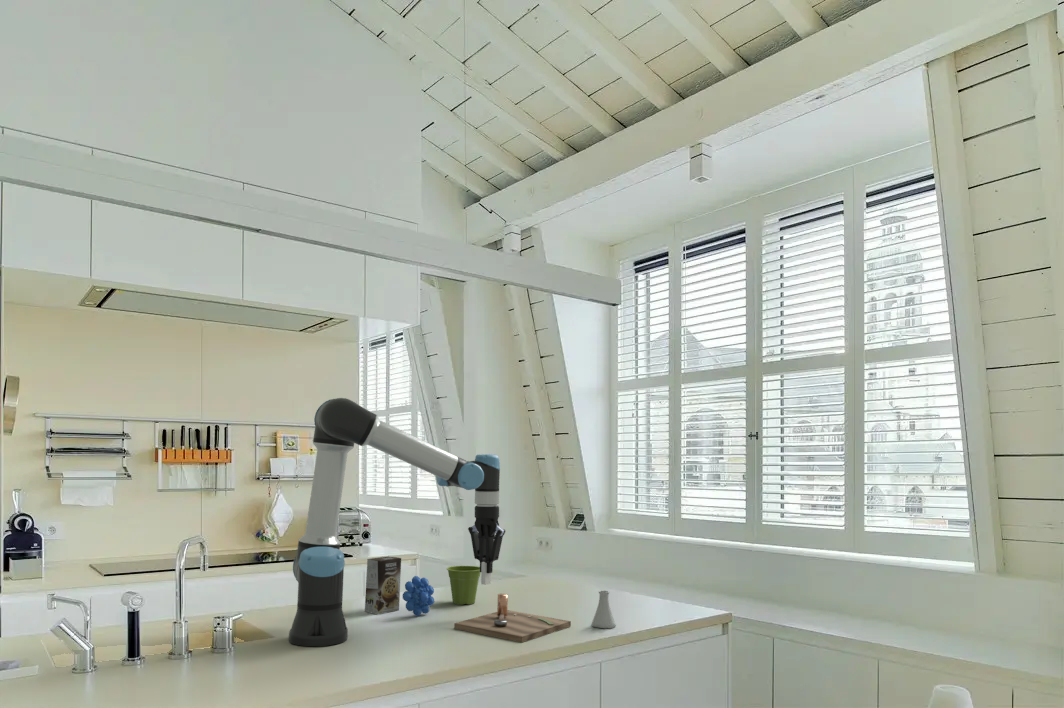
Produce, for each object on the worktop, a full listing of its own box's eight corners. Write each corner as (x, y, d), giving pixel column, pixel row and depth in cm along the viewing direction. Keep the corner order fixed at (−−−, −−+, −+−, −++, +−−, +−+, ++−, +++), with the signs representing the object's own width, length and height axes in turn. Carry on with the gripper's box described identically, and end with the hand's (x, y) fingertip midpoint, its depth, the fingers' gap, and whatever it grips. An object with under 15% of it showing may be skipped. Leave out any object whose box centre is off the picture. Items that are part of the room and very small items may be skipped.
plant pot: (484, 600, 273) (485, 565, 274) (478, 607, 261) (479, 571, 262) (449, 598, 274) (450, 564, 275) (442, 605, 262) (443, 570, 263)
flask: (614, 629, 235) (615, 594, 236) (589, 628, 236) (590, 592, 237) (617, 624, 242) (617, 589, 243) (592, 622, 243) (593, 588, 244)
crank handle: (506, 626, 228) (507, 603, 229) (493, 625, 228) (494, 603, 229) (508, 614, 243) (509, 593, 244) (496, 614, 243) (497, 593, 244)
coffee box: (378, 614, 247) (380, 560, 249) (363, 611, 251) (366, 558, 253) (400, 610, 255) (402, 557, 256) (386, 607, 258) (388, 555, 260)
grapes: (410, 621, 240) (412, 579, 241) (397, 617, 245) (398, 576, 246) (441, 615, 248) (443, 575, 249) (428, 611, 253) (429, 572, 254)
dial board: (522, 642, 218) (522, 635, 218) (454, 628, 232) (454, 622, 232) (570, 626, 238) (570, 620, 238) (505, 614, 251) (505, 608, 252)
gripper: (511, 505, 249) (510, 584, 247) (478, 503, 256) (477, 579, 254) (496, 507, 243) (495, 588, 240) (462, 504, 250) (461, 583, 248)
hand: (485, 583), depth 247 cm, fingers closed
